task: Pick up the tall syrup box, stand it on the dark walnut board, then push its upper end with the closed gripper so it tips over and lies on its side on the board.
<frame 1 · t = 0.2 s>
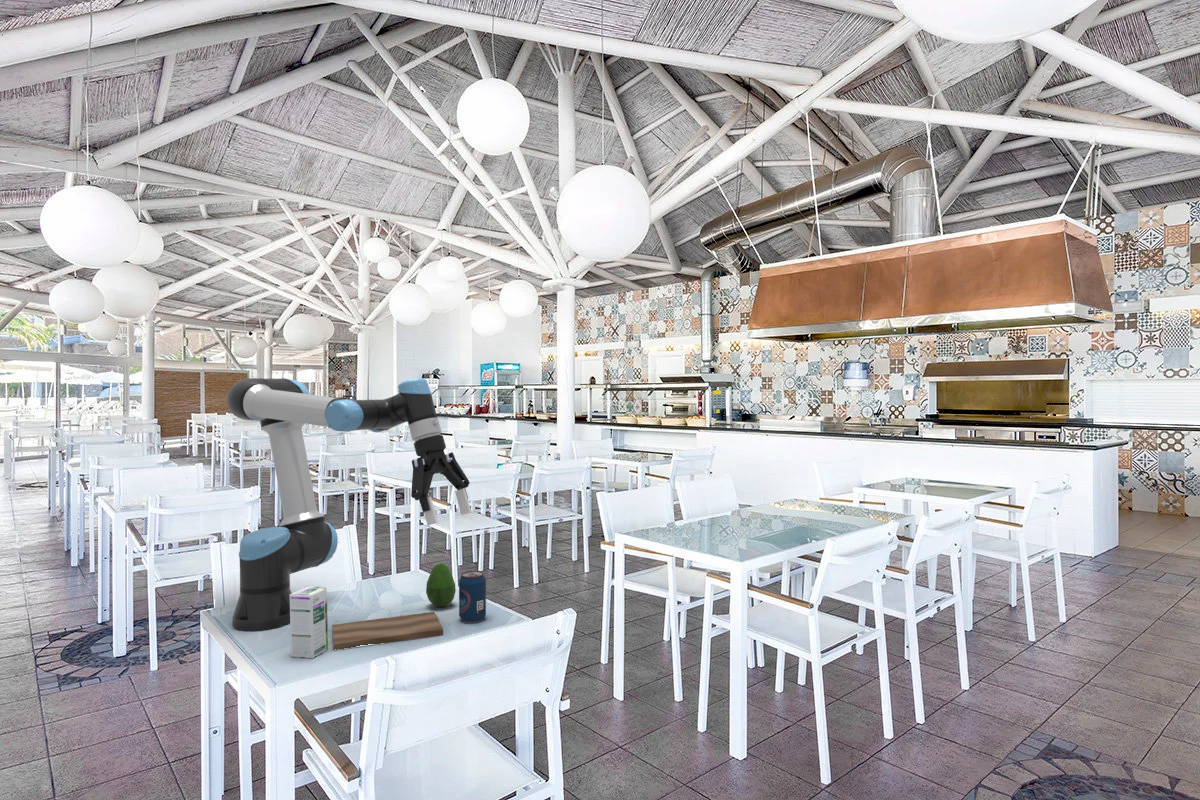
hand: (450, 518, 167), 28 cm above the table, tool tilted 20°, fingers open, 13 cm apart
avocado: (440, 607, 184), on the table
walnut board: (387, 632, 164), on the table
syrup box: (309, 654, 151), on the table
soda can: (472, 620, 174), on the table
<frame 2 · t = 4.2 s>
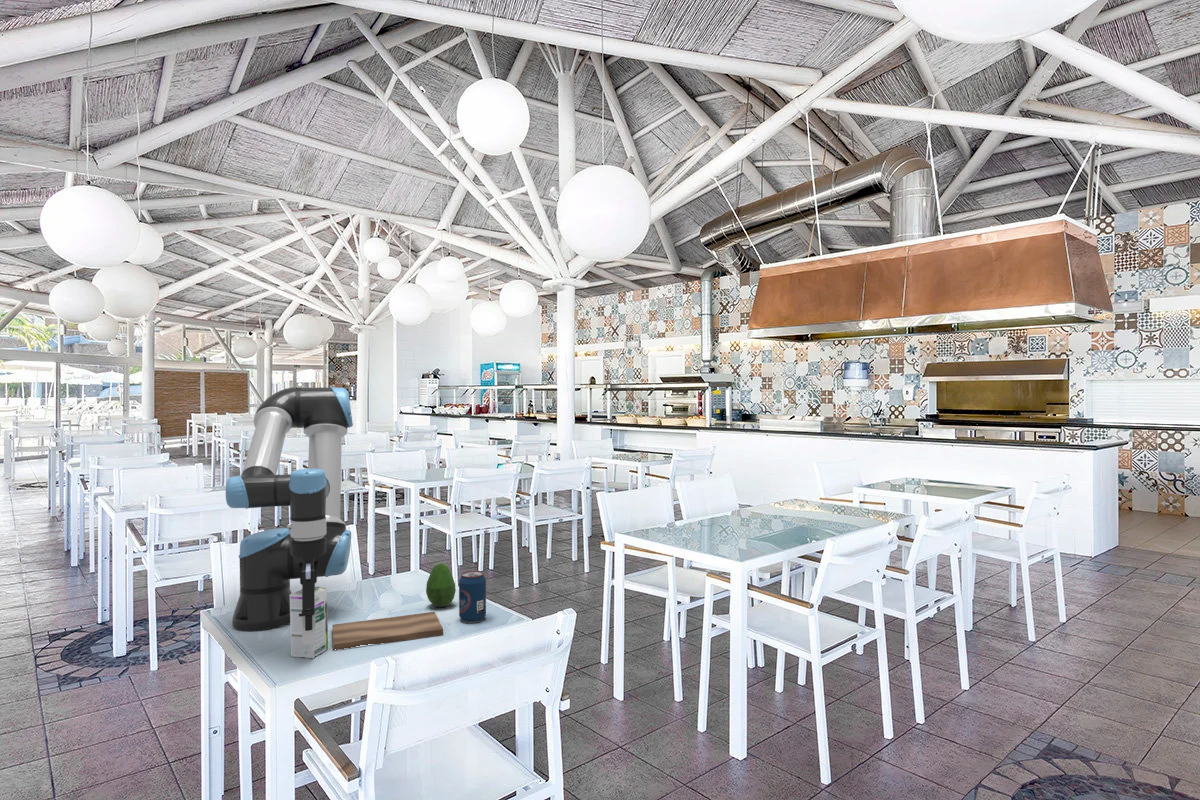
hand: (309, 637, 151), 4 cm above the table, tool pointing down, fingers closed on syrup box, 7 cm apart
syrup box: (309, 654, 151), on the table, touching gripper
everything else where it was.
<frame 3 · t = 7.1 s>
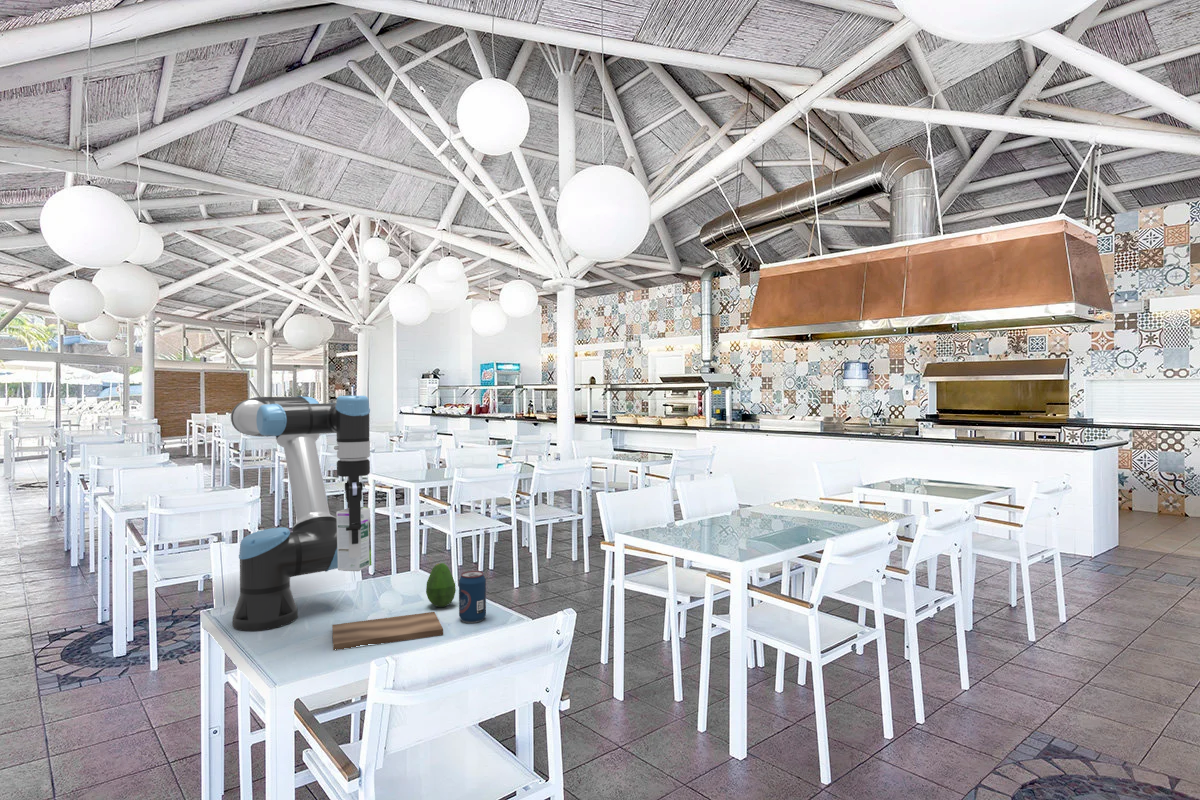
hand: (354, 553, 161), 21 cm above the table, tool pointing down, fingers closed on syrup box, 7 cm apart
syrup box: (354, 569, 161), point 17 cm above the table, touching gripper
everything else where it was.
when the fingers open (6 cm above the table, at t = 10.0 s): syrup box stays where it is, resting on walnut board.
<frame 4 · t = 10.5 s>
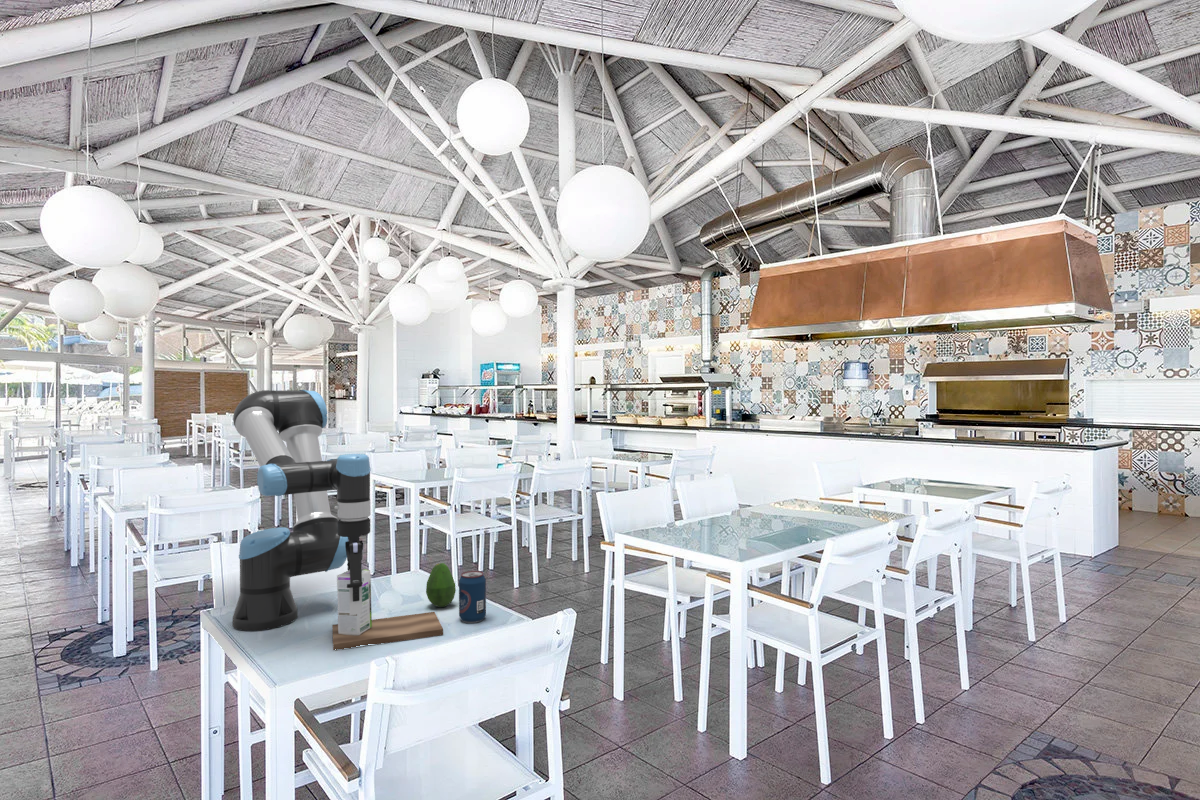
hand: (354, 605, 161), 8 cm above the table, tool pointing down, fingers open, 13 cm apart
syrup box: (354, 631, 161), point 1 cm above the table, touching walnut board
everything else where it was.
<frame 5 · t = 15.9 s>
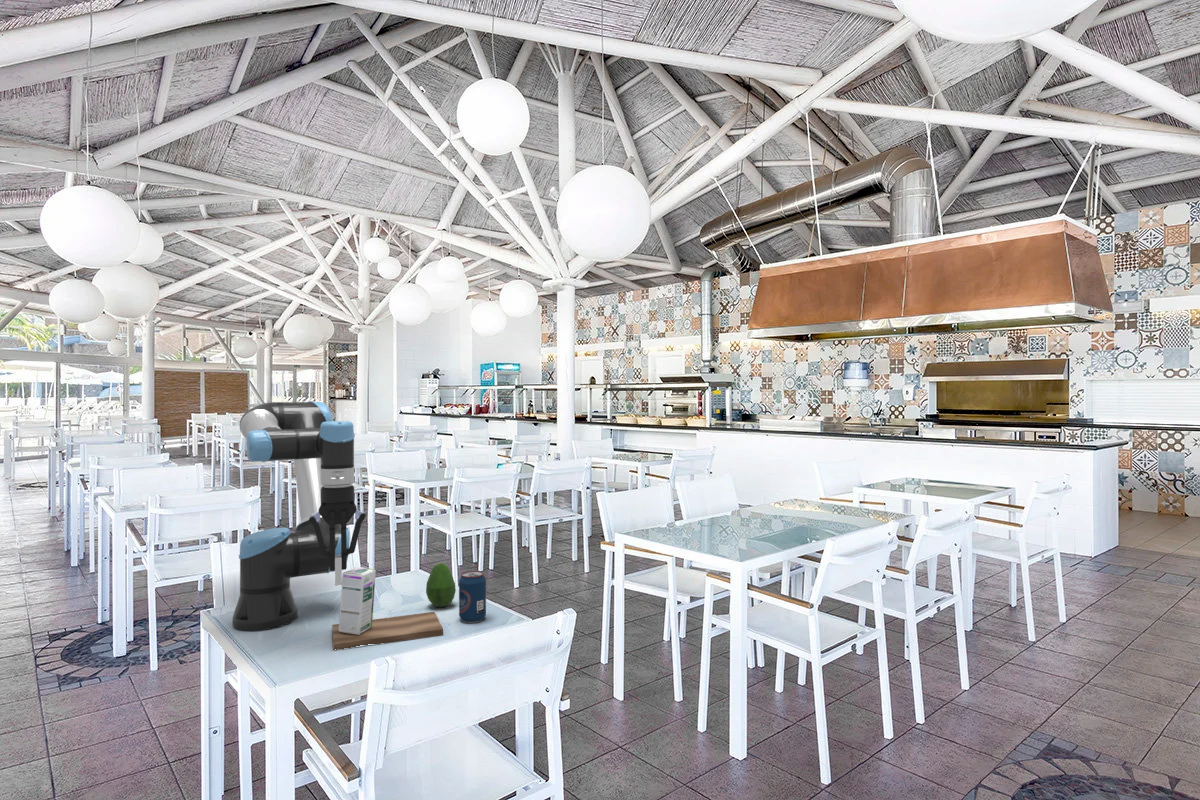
hand: (338, 583, 159), 14 cm above the table, tool pointing down, fingers closed
syrup box: (354, 630, 161), point 2 cm above the table, touching gripper, walnut board
everything else where it was.
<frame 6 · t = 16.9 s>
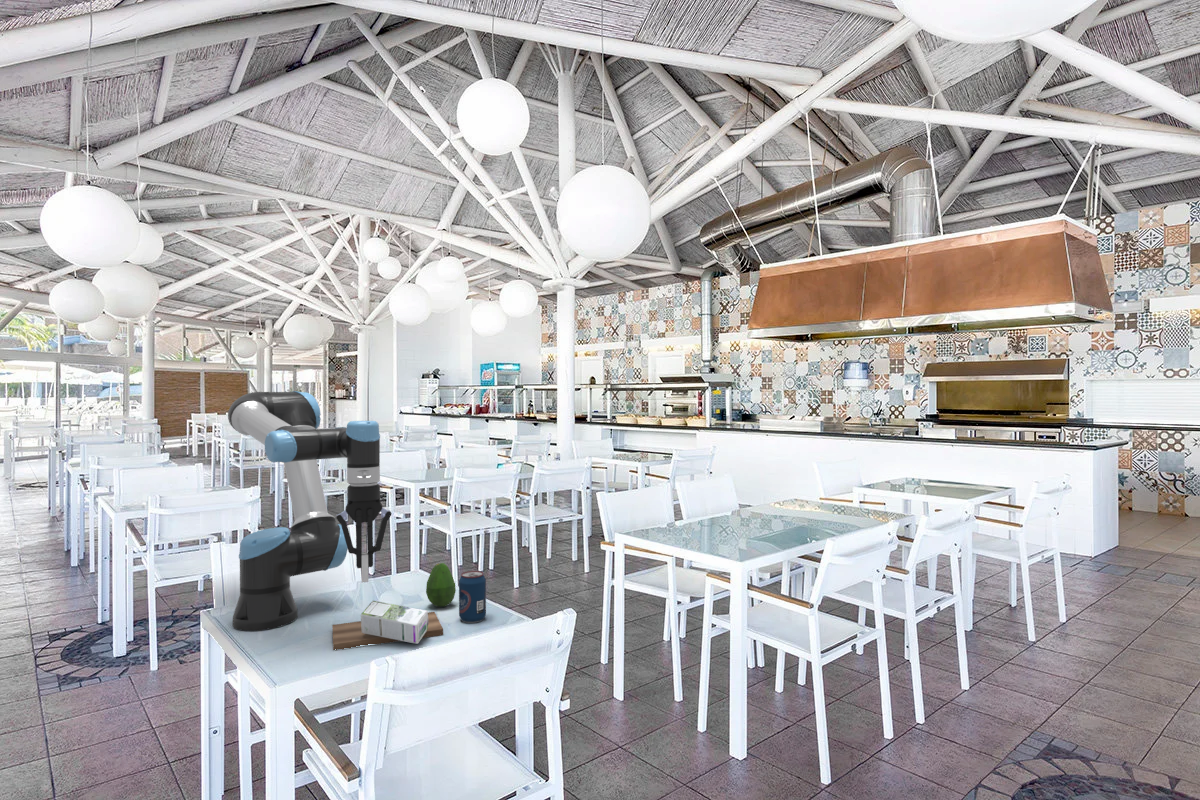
hand: (364, 580, 162), 14 cm above the table, tool pointing down, fingers closed
syrup box: (366, 616, 159), point 6 cm above the table, touching walnut board
everything else where it was.
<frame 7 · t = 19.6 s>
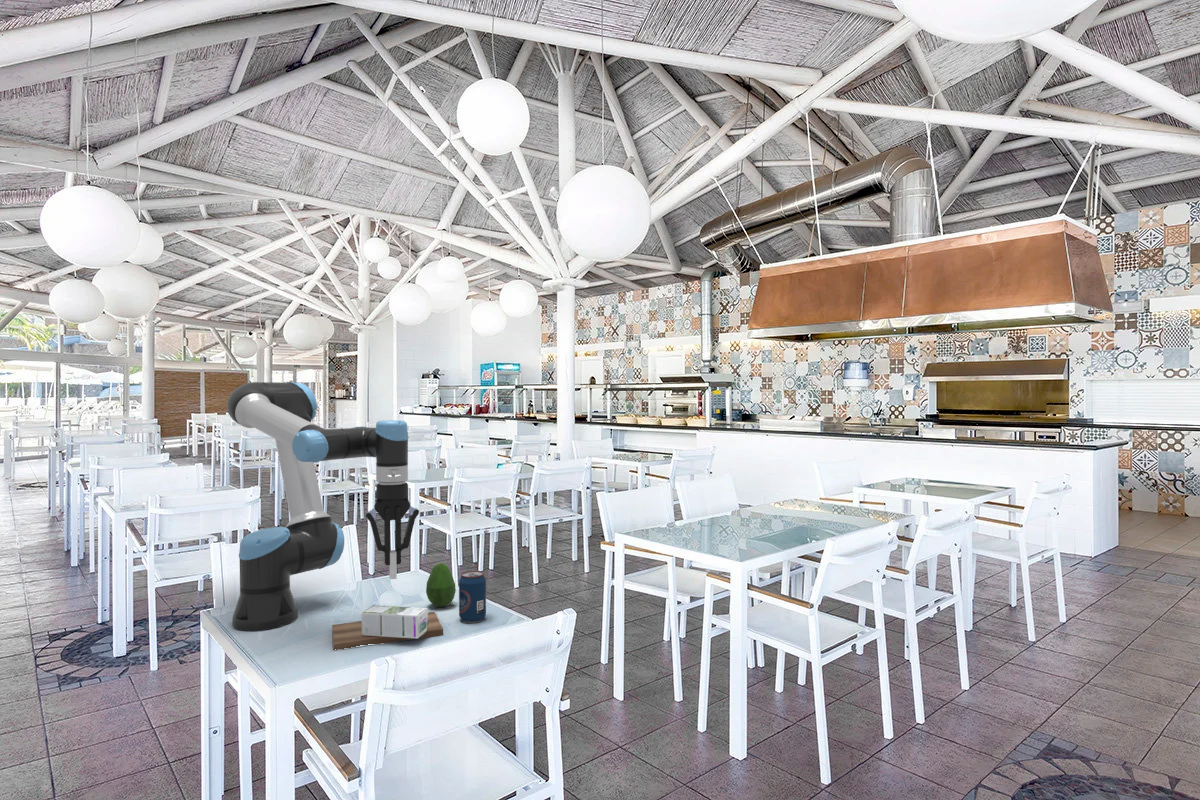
hand: (392, 577, 165), 14 cm above the table, tool pointing down, fingers closed
syrup box: (366, 619, 161), point 4 cm above the table, touching walnut board
everything else where it was.
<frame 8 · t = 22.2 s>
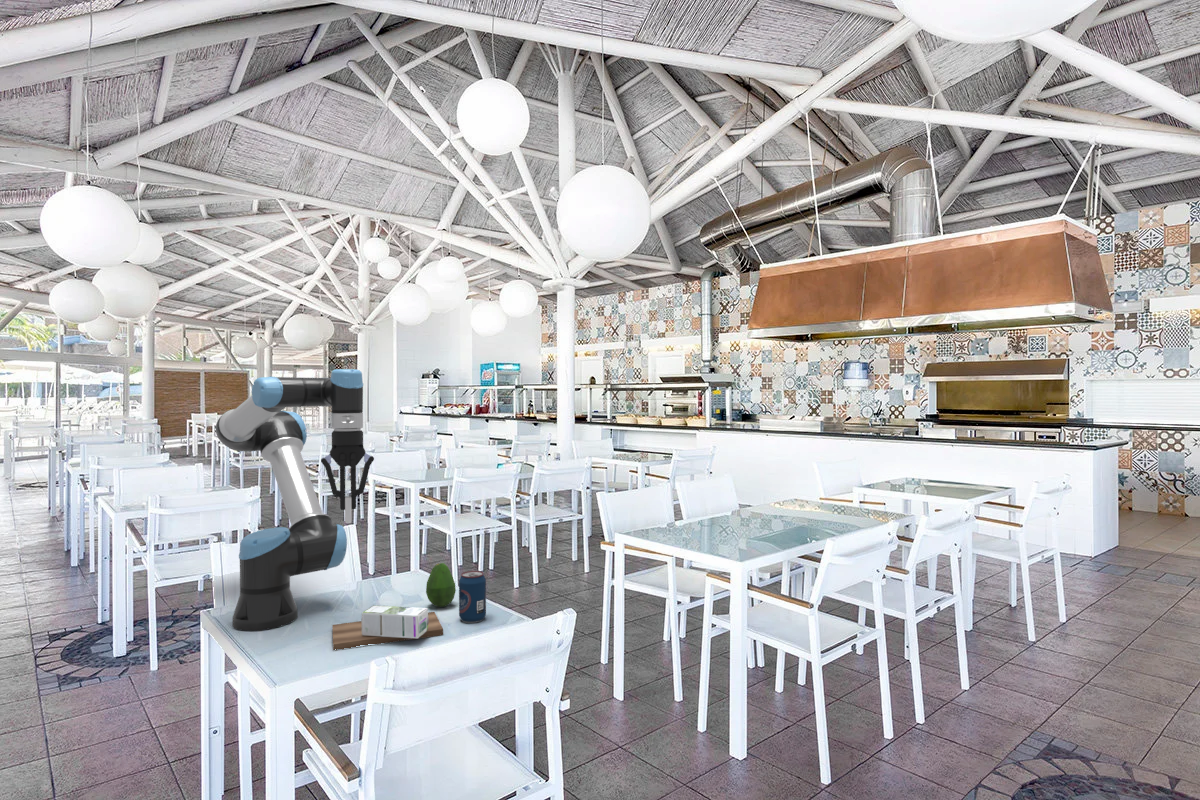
hand: (348, 522, 169), 26 cm above the table, tool pointing down, fingers closed
nothing on the table moved.
at the end: syrup box tilted 91°; syrup box inside the target area (6.2 cm from its centre), point 4.5 cm above the table; syrup box touching walnut board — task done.
